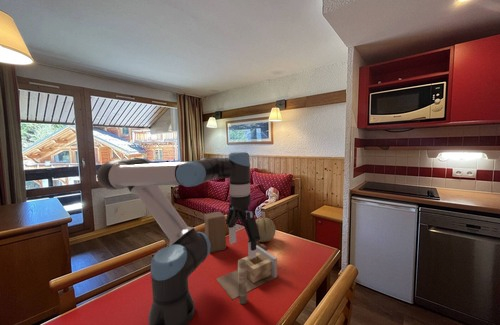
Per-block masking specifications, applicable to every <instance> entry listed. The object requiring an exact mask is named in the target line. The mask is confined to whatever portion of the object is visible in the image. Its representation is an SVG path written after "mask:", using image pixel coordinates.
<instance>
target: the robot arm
mask: <svg viewBox="0 0 500 325" xmlns="http://www.w3.org/2000/svg"><path fill="white" fill-rule="evenodd" d="M96 179H97V183H98V184H99V185H100V186H101V187H103V188H105V189H107V190H110V191H111V190H112V191H113V190H114V191H115V190H124V189H126V188H127V189H128V190H129V192H130V194H132V195H137V196H138V198H139V200H140V201H141V202H142V203H143V206H145V208H146V209H147V210H148V212H149V213H150V215H151V216H152V218H153V219H154V220H155V221H156V223H157V224H158V225H159V227H160V228H161V230H162V231H163V233H164V234H165V236H166V237H167V238H168V240H169V244H168V246H164V247H163V248H161V249H159V250H157V251H156V252H155V254H154V255H153V256H152V258H151V261H150V276H151V277H150V279H151V291H152V303H151V306H150V310H149V314H148V325H188V324H189V323H190V322H191V321H192V319H193V317H194V316H195V302H194V299H193V297H192V295H191V293H190V290H189V277H190V276H191V274H193V272H194V271H195V270H197V268H199V266H200V265H201V264H202V263H204V262H205V261H206V259H207V257H209V255H210V254H211V253H210V247H211V246H210V241H209V239H208V237H207V236H206V235H205V232H201V231H197V230H196V229H195V228H194V227H193V226H188V225H187V223H186V222H185V221H184V219H183V218H182V216H181V215H180V214H179V213H178V210H176V208H175V207H174V205H173V204H172V203H171V201H170V200H169V198H168V197H167V195H165V193H164V192H163V190H162V189H161V187H160V186H172V185H173V186H174V185H175V186H176V185H179V186H180V185H181V186H184V187H187V188H189V187H190V188H191V187H196V186H199V185H201V184H203V183H206V182H208V181H212V180H215V179H229V194H230V196H229V200H230V202H229V204H228V212H227V216H226V218H225V225H227V227H228V236H229V238H228V239H229V245H233V244H236V243H237V226H236V223H237V222H238V221H240V222H241V224H243V226H244V230H245V232H246V234H247V238H248V237H249V241H248V240H247V249H248V250H247V253H248V255H247V256H248V259H249V260H250V259H253V258H255V257H256V241H259V240H260V235H259V232H258V228H257V224H256V221H255V220H256V218H255V211H254V210H249V206H251V204H252V200H251V199H252V198H251V197H252V196H251V161H250V154H249V153H248V152H245V151H243V152H242V151H239V152H238V151H237V152H236V151H235V152H229V153H228V157H203V158H201V159H199V160H188V161H173V162H172V161H171V162H158V163H157V162H156V163H155V162H152V161H151V160H149V159H148V158H143V157H134V158H128V159H127V158H125V159H115V160H110V161H109V160H108V161H107V162H105V163H103V164H102V165H100V167H99V168H98V170H97V171H96ZM259 242H260V241H259Z"/></svg>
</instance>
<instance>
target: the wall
mask: <svg viewBox="0 0 500 325" xmlns="http://www.w3.org/2000/svg"><path fill="white" fill-rule="evenodd" d="M257 252H259V253H260V254H262V255H263V256H264V257H266V258H267V259H269V260H270V261H271V273H272V275H271V276H273V277H274V279H277V278H278V277H277V275H278V257H276V256H275V255H273V254H271V253H270V252H268V250H267V251H265V250H264V249H262V248H261V247H259V246H258V245H256V253H257Z"/></svg>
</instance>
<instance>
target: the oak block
mask: <svg viewBox="0 0 500 325" xmlns="http://www.w3.org/2000/svg"><path fill="white" fill-rule="evenodd" d="M241 259H245V260H246V269H247V278H248V279H249V280H250V281H251V282H252V283H256V282H258V281H260V280H262V279H264V278H266V277H268V276H270V275H272V273H271V261H270V260H269V259H267V258H266V257H264V256H263V255H262V254H260V253H259V252H257V253H256V257H255V258H253V259H250V260H249V259H248V255H246V256H244V257H242V258H241Z"/></svg>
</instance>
